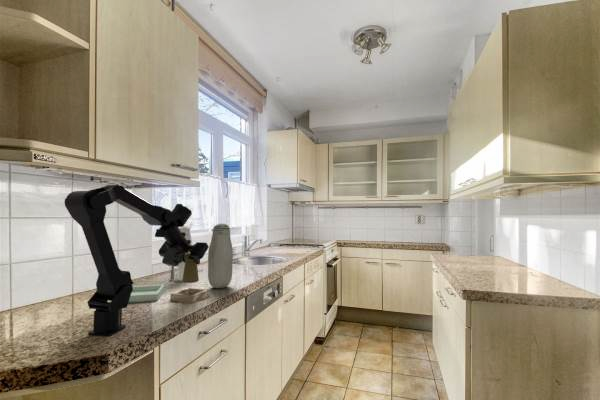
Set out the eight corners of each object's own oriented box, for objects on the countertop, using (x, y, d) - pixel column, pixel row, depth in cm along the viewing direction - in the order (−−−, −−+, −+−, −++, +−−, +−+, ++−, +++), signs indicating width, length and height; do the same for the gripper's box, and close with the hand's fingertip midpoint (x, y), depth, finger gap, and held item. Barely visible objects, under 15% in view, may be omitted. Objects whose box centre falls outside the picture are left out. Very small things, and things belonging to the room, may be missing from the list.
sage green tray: (157, 300, 109) (157, 294, 109) (111, 303, 105) (111, 296, 105) (164, 290, 124) (164, 284, 124) (124, 292, 120) (124, 286, 120)
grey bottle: (224, 291, 123) (226, 224, 124) (203, 289, 126) (204, 223, 127) (236, 285, 133) (237, 223, 134) (215, 284, 135) (216, 223, 137)
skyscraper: (185, 277, 150) (186, 221, 151) (195, 279, 145) (196, 222, 146) (169, 280, 143) (171, 222, 144) (179, 282, 138) (180, 222, 140)
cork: (193, 283, 110) (194, 253, 110) (178, 282, 111) (179, 252, 111) (201, 279, 115) (202, 251, 116) (187, 279, 117) (188, 251, 117)
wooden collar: (192, 303, 107) (192, 296, 107) (170, 300, 110) (170, 293, 110) (209, 295, 116) (209, 289, 116) (188, 293, 119) (188, 287, 119)
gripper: (139, 253, 102) (162, 279, 112) (183, 255, 96) (204, 283, 106) (158, 229, 110) (178, 255, 120) (199, 230, 104) (217, 258, 114)
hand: (193, 263), depth 115 cm, fingers closed on cork, 5 cm apart
